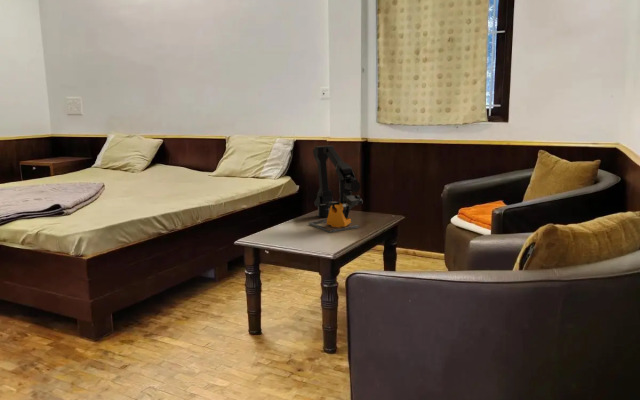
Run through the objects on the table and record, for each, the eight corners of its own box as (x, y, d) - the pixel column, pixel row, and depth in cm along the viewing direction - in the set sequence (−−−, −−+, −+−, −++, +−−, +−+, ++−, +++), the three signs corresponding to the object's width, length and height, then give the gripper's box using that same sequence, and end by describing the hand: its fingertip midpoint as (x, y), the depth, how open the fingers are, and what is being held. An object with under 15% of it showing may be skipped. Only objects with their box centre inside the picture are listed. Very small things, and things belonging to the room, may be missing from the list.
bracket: (351, 223, 266) (350, 201, 263) (345, 228, 261) (343, 205, 257) (334, 221, 272) (332, 199, 268) (327, 225, 266) (325, 204, 263)
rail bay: (308, 224, 270) (308, 222, 270) (336, 220, 279) (336, 217, 278) (330, 232, 252) (329, 230, 252) (358, 227, 261) (358, 225, 261)
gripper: (338, 194, 254) (339, 224, 257) (368, 189, 264) (369, 219, 266) (326, 191, 263) (327, 220, 266) (356, 187, 273) (356, 215, 276)
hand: (345, 219), depth 268 cm, fingers closed, pressing on bracket
